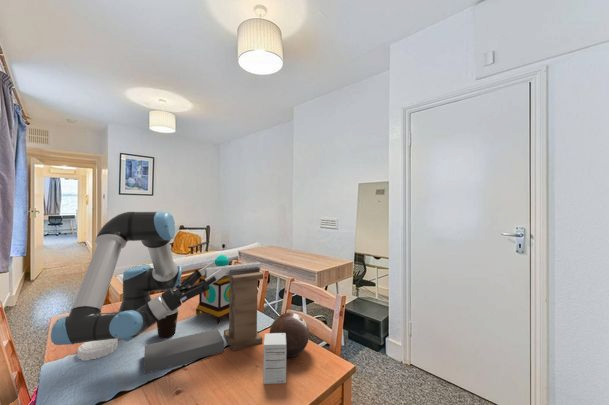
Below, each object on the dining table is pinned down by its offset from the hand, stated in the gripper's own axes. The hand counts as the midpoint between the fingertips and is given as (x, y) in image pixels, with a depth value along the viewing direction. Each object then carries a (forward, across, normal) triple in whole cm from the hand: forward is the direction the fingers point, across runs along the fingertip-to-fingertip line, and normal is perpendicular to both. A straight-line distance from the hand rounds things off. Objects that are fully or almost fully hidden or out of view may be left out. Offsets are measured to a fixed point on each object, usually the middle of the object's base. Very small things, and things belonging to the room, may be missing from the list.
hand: (218, 267), depth 103 cm
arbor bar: (+4, 0, -6) cm, 7 cm away
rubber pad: (-26, 0, -21) cm, 33 cm away
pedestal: (-7, 0, -32) cm, 33 cm away
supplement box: (-5, +28, -33) cm, 44 cm away
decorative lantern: (-9, -29, -31) cm, 43 cm away
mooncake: (-50, -18, -7) cm, 54 cm away
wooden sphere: (+4, +19, -38) cm, 43 cm away
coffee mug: (-30, -20, -19) cm, 40 cm away
